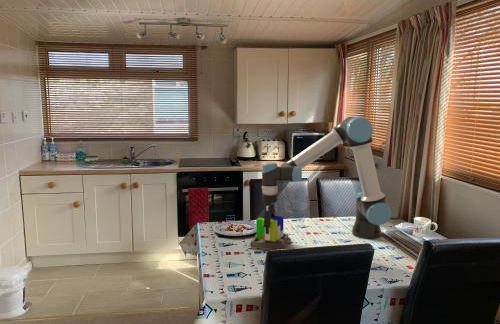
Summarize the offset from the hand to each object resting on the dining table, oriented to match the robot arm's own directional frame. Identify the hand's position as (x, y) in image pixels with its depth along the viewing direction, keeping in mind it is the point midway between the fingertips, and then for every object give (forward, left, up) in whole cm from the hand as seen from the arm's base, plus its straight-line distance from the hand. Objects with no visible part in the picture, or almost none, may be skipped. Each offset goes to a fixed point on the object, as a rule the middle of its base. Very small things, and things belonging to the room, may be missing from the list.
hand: (270, 235), depth 194 cm
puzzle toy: (0, 0, -1) cm, 1 cm away
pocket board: (0, 0, -4) cm, 4 cm away
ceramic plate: (-16, -22, -5) cm, 28 cm away
